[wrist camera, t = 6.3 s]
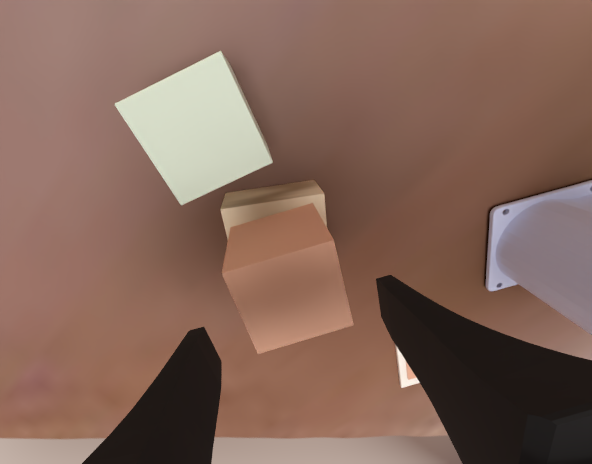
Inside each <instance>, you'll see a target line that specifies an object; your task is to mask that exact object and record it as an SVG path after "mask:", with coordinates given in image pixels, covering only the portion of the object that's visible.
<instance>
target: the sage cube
mask: <svg viewBox="0 0 592 464" xmlns="http://www.w3.org/2000/svg"><path fill="white" fill-rule="evenodd" d="M115 106H116V108H117V109H118V111H119V112H120V114H121V115H122V117H123V118H124V120H125V121H126V123H127V124H128V126H129V127H130V129H131V130H132V132H133V133H134V135H135V136H136V138H137V139H138V141H139V142H140V144H141V145H142V147H143V148H144V150H145V151H146V153H147V154H148V156H149V157H150V159H151V161H152V162H153V164H154V165H155V167H156V168H157V170H158V171H159V173H160V174H161V176H162V177H163V179H164V180H165V182H166V183H167V185H168V186H169V188H170V189H171V191H172V192H173V194H174V195H175V197H176V198H177V200H178V201H179V203H180V204H181V205H183V204H185V203H188V202H190V201H192V200H194V199H196V198H198V197H200V196H202V195H205V194H207V193H209V192H211V191H213V190H215V189H217V188H220V187H222V186H224V185H226V184H228V183H230V182H232V181H234V180H237V179H239V178H241V177H243V176H245V175H247V174H249V173H251V172H254V171H256V170H258V169H260V168H262V167H264V166H266V165H268V164H271V163H273V161H272V158H271V154H270V151H269V147H268V145H267V143H266V141H265V139H264V137H263V134H262V132H261V130H260V128H259V126H258V124H257V122H256V119H255V117H254V115H253V113H252V111H251V109H250V106H249V104H248V102H247V100H246V98H245V96H244V94H243V91H242V89H241V87H240V85H239V83H238V81H237V78H236V76H235V74H234V72H233V70H232V68H231V66H230V64H229V62H228V61H227V59H226V58H225V57H224V55H223V54H222V52H221V51H219V52H217V53H215V54H213V55H211V56H209V57H207V58H205V59H203V60H201V61H199V62H197V63H195V64H193V65H191V66H189V67H187V68H185V69H183V70H181V71H179V72H177V73H175V74H173V75H171V76H169V77H167V78H165V79H163V80H161V81H159V82H157V83H155V84H153V85H151V86H149V87H147V88H145V89H143V90H141V91H139V92H137V93H135V94H133V95H131V96H129V97H127V98H125V99H123V100H121V101H119V102H117V103H115Z"/></svg>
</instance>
